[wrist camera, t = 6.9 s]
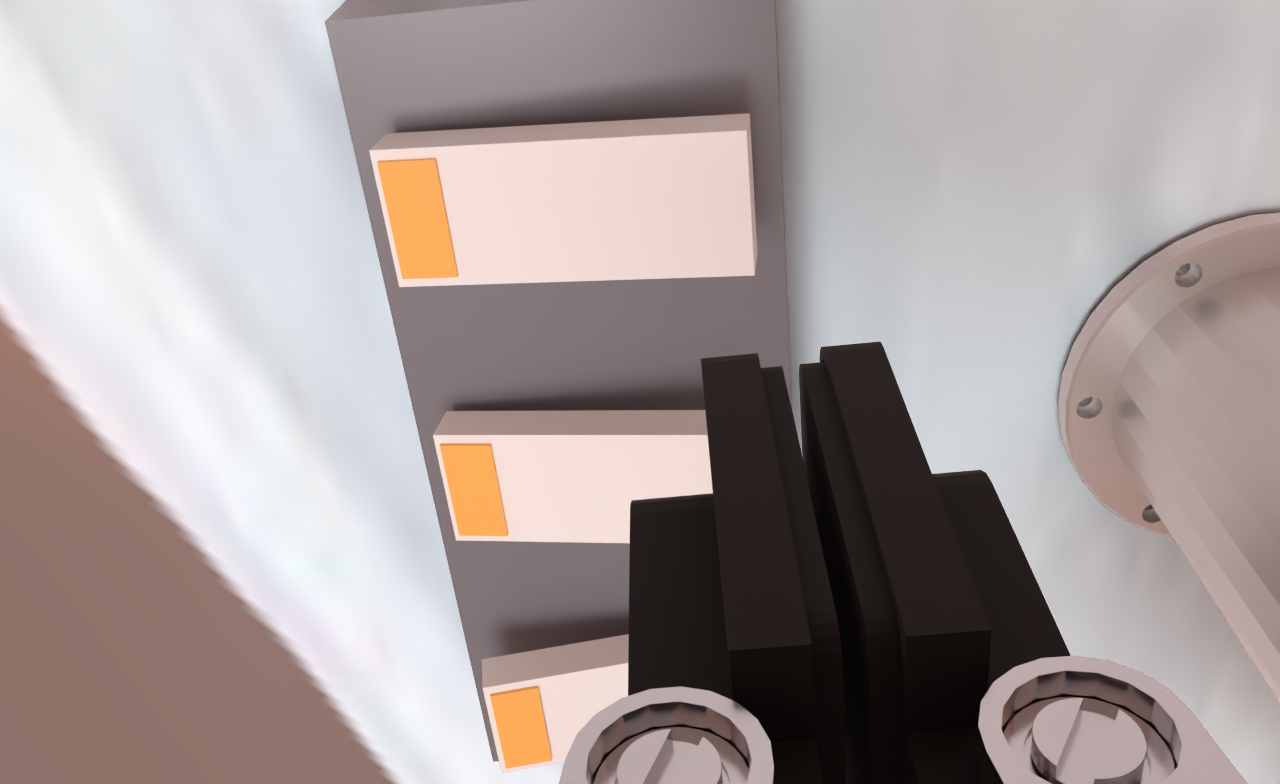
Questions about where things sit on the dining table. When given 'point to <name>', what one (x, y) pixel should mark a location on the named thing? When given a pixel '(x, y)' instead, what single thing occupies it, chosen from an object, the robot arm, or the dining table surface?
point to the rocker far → (550, 697)
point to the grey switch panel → (563, 311)
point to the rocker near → (570, 201)
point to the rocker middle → (566, 470)
